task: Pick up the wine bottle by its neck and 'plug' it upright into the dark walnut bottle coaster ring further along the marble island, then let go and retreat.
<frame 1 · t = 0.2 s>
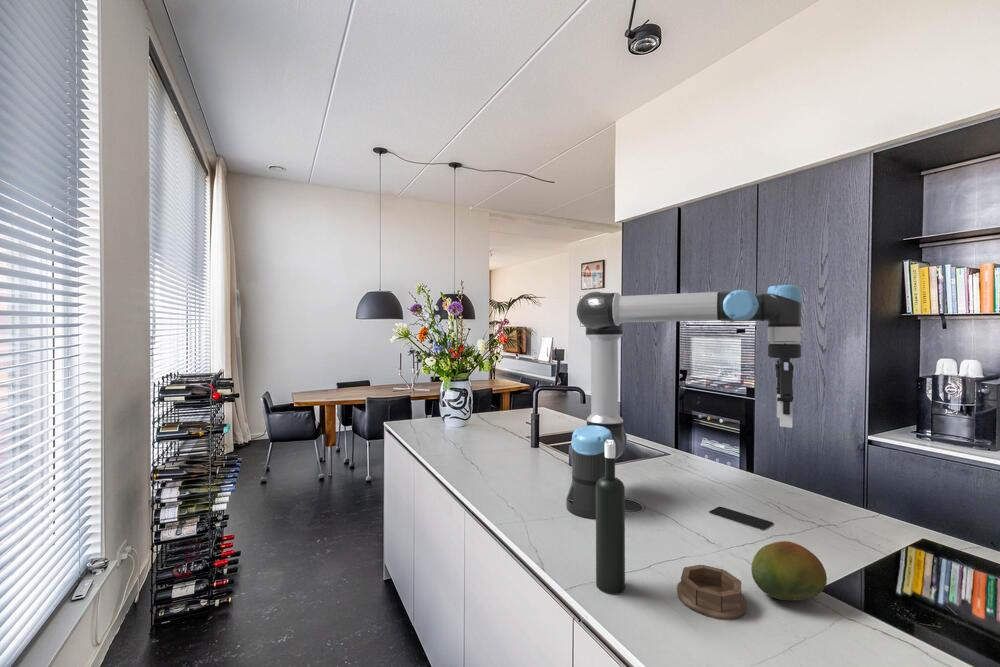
hand: (784, 422, 118), 28 cm above the worktop, fingers open, 13 cm apart
smartphone: (740, 520, 124), on the worktop
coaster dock: (710, 598, 86), on the worktop
wine bottle: (610, 587, 91), on the worktop
fruit: (786, 597, 87), on the worktop
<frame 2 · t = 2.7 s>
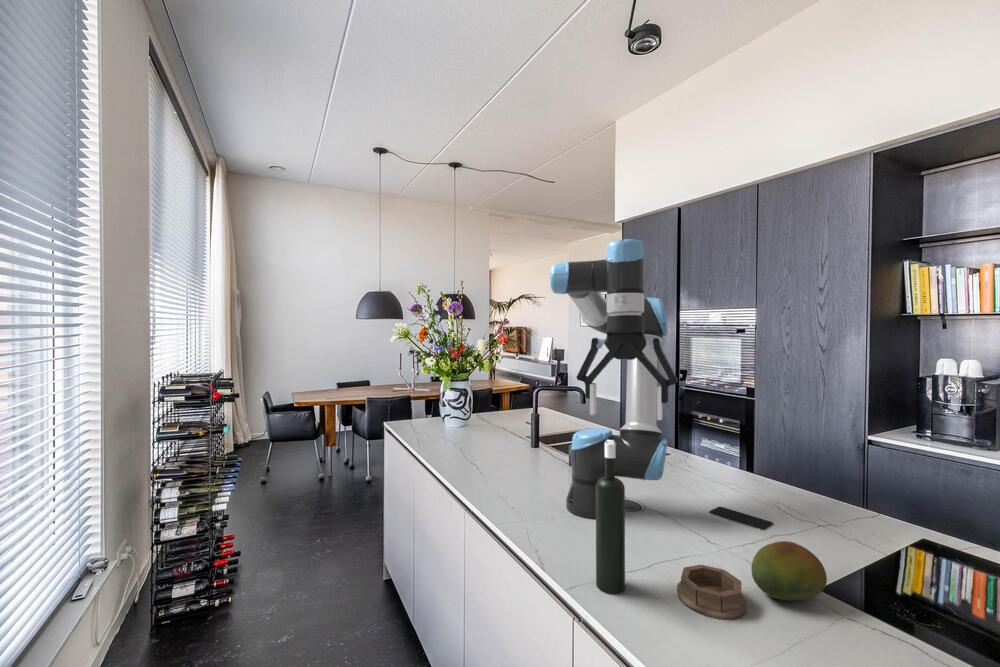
hand: (625, 416, 92), 35 cm above the worktop, fingers open, 13 cm apart
nothing on the worktop moved.
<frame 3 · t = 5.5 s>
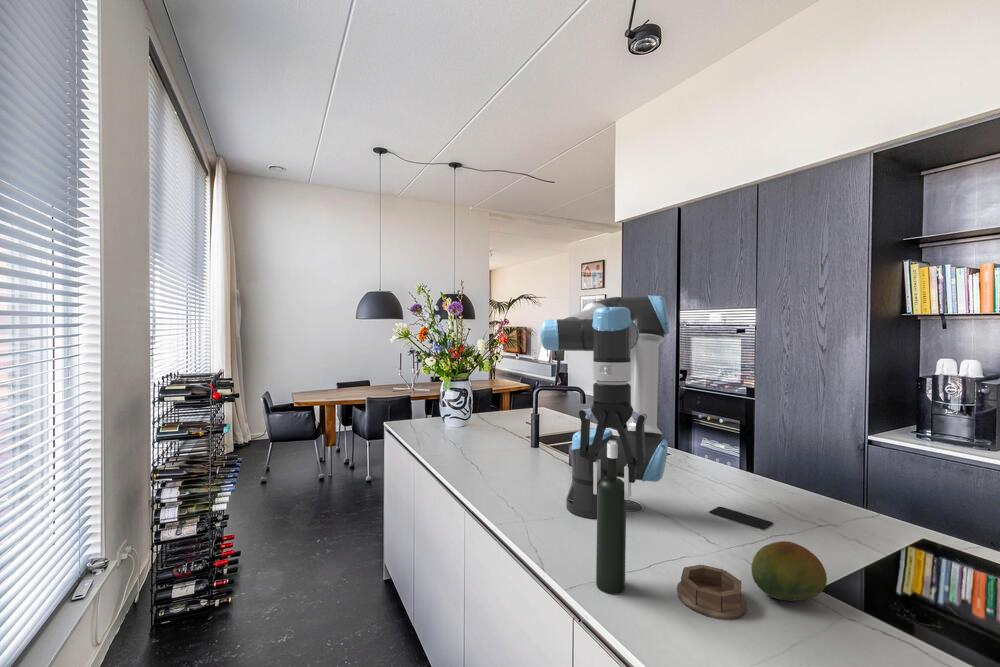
hand: (612, 494, 91), 19 cm above the worktop, fingers closed on wine bottle, 6 cm apart
wine bottle: (610, 586, 91), on the worktop, touching gripper
everything else where it was.
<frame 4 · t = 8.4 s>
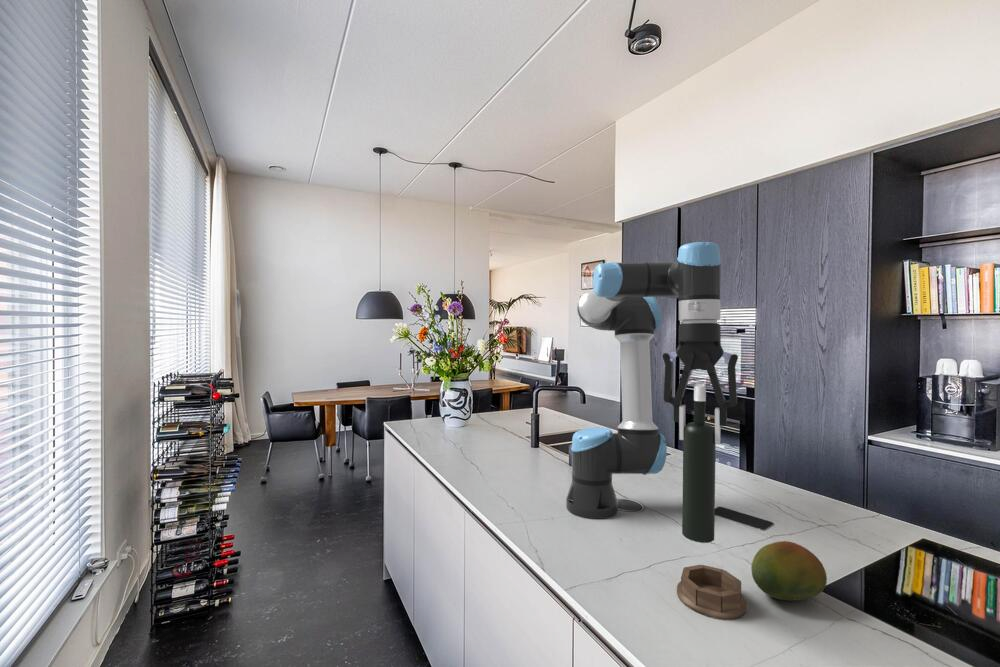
hand: (699, 440, 87), 31 cm above the worktop, fingers closed on wine bottle, 6 cm apart
wine bottle: (698, 537, 86), point 12 cm above the worktop, touching gripper
everything else where it was.
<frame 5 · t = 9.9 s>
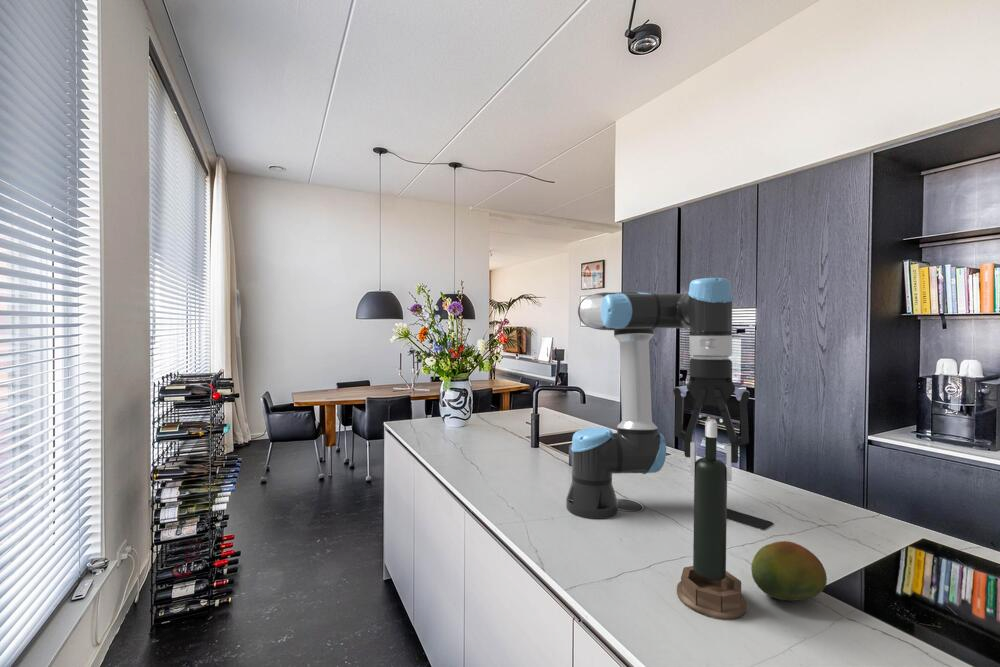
hand: (710, 476, 86), 24 cm above the worktop, fingers closed on wine bottle, 6 cm apart
wine bottle: (709, 573, 86), point 5 cm above the worktop, touching gripper
everything else where it was.
when the fingers open (21 cm above the worktop, at t = 11.2 s): wine bottle drops 1 cm, resting on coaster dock.
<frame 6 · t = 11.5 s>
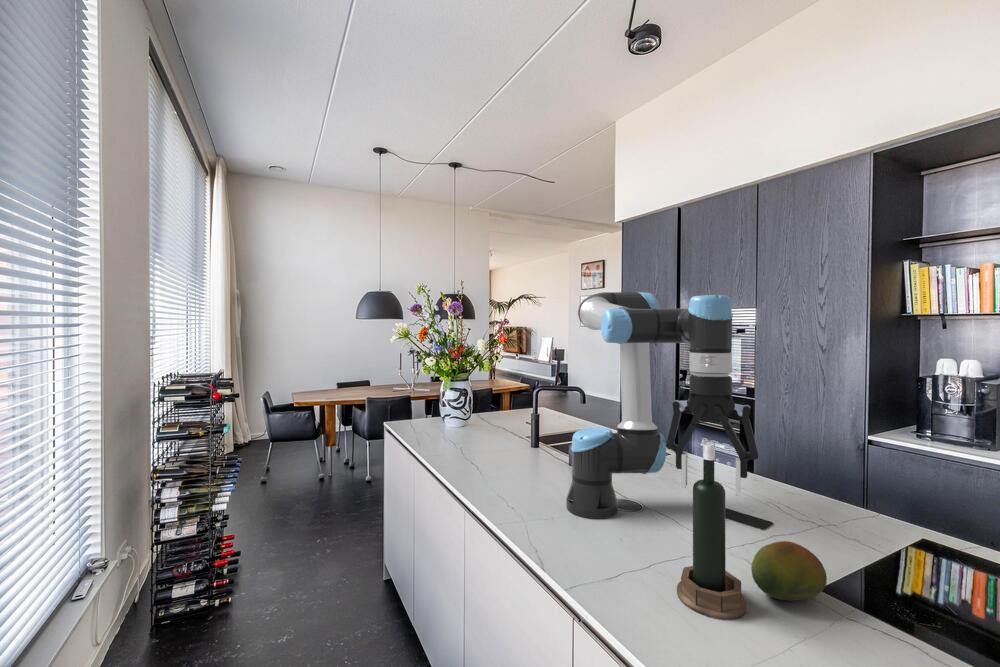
hand: (710, 489, 86), 21 cm above the worktop, fingers open, 9 cm apart
wine bottle: (708, 595, 86), point 1 cm above the worktop, touching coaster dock
everything else where it was.
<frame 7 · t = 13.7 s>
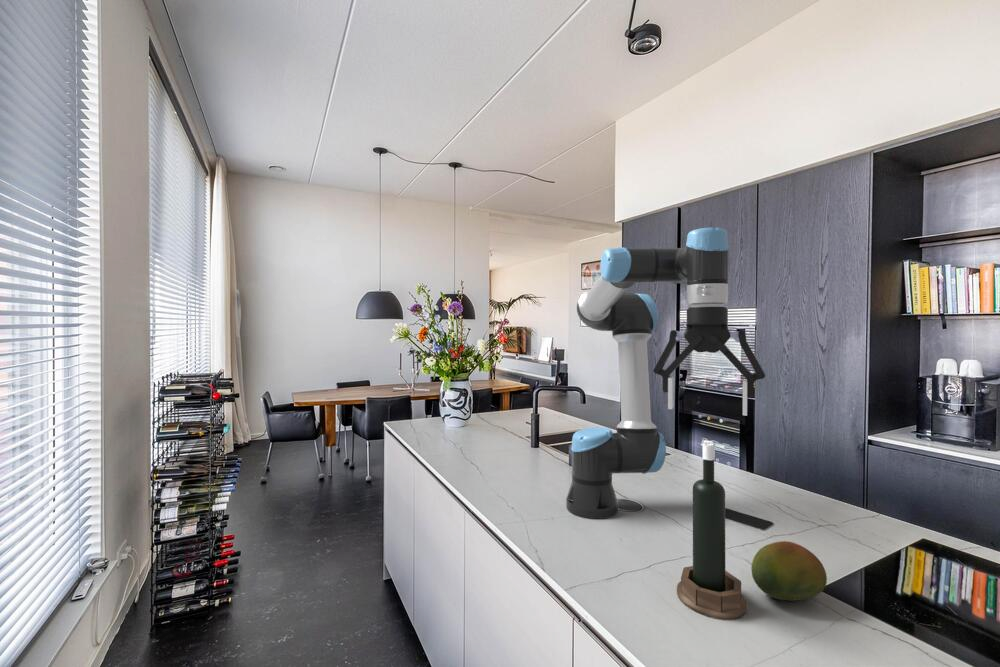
hand: (706, 411, 89), 36 cm above the worktop, fingers open, 13 cm apart
nothing on the worktop moved.
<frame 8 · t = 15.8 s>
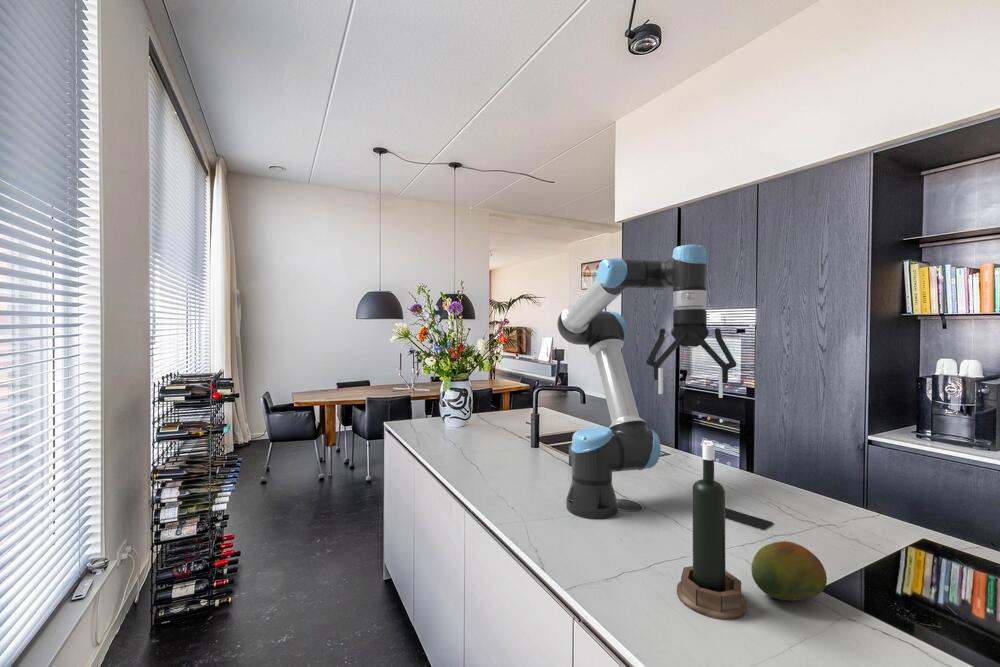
hand: (689, 395, 108), 37 cm above the worktop, fingers open, 13 cm apart
nothing on the worktop moved.
at the end: wine bottle 0.3 cm off-centre on the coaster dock, point 0.6 cm above the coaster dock's base; wine bottle tilted 0°; wine bottle touching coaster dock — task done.
